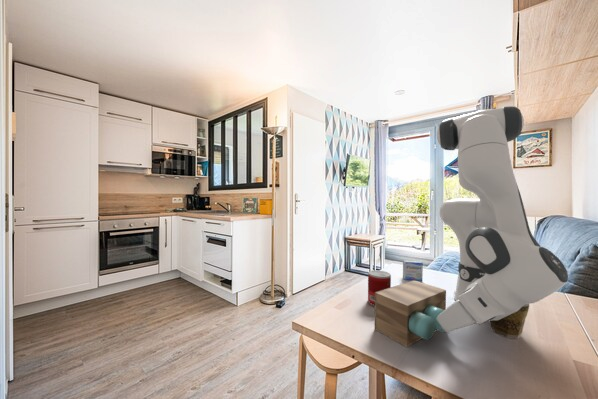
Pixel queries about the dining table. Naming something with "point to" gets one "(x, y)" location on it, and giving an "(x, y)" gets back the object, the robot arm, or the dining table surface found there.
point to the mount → (407, 311)
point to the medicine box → (412, 270)
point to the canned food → (377, 283)
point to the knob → (434, 315)
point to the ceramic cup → (511, 323)
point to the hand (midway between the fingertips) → (445, 322)
